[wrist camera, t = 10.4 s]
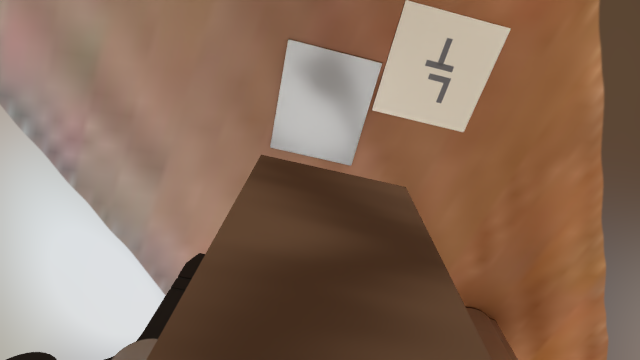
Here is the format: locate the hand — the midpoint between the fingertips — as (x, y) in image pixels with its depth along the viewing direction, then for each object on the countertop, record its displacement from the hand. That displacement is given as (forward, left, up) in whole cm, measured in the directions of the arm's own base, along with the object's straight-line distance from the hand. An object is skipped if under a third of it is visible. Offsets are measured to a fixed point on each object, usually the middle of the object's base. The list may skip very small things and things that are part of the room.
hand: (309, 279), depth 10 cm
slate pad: (0, 0, -27) cm, 27 cm away
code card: (-11, -7, -27) cm, 29 cm away
